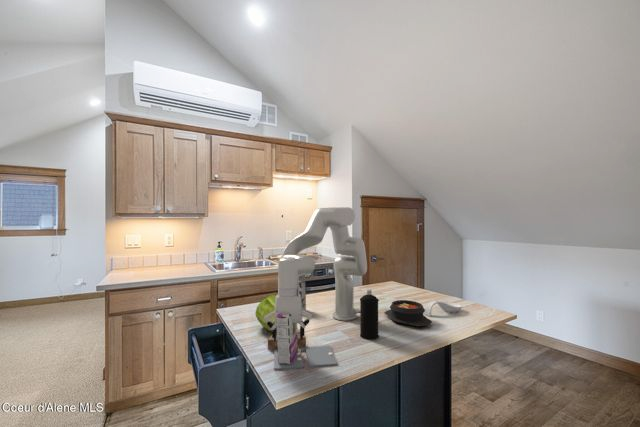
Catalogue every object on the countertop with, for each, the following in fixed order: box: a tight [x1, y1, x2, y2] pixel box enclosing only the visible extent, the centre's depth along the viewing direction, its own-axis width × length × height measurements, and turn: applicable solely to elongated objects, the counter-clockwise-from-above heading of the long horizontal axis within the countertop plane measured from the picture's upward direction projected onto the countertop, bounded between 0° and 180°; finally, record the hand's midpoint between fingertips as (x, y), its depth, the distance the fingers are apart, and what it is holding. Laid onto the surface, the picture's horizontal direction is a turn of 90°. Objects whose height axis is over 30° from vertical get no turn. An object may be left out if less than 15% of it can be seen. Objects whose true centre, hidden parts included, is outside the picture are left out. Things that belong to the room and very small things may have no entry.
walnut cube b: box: [267, 334, 278, 351], centre depth 112 cm, size 4×4×4 cm
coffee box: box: [299, 280, 307, 311], centre depth 157 cm, size 9×6×16 cm
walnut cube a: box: [297, 333, 307, 349], centre depth 113 cm, size 4×4×4 cm
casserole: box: [383, 299, 433, 327], centre depth 142 cm, size 25×19×8 cm
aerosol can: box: [359, 289, 380, 341], centre depth 123 cm, size 8×8×20 cm
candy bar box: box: [276, 314, 298, 364], centre depth 103 cm, size 11×5×16 cm, turn 171°
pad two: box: [273, 348, 305, 371], centre depth 103 cm, size 10×14×1 cm
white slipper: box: [423, 299, 463, 317], centre depth 154 cm, size 24×12×7 cm, turn 117°
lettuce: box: [254, 294, 277, 334], centre depth 129 cm, size 15×24×16 cm
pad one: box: [304, 345, 339, 368], centre depth 104 cm, size 10×14×1 cm
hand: (288, 338), depth 103 cm, fingers open, 9 cm apart
